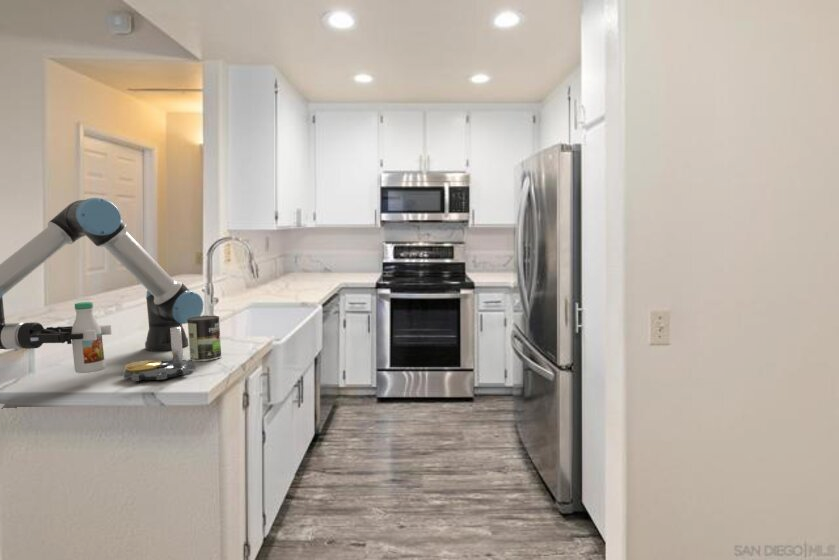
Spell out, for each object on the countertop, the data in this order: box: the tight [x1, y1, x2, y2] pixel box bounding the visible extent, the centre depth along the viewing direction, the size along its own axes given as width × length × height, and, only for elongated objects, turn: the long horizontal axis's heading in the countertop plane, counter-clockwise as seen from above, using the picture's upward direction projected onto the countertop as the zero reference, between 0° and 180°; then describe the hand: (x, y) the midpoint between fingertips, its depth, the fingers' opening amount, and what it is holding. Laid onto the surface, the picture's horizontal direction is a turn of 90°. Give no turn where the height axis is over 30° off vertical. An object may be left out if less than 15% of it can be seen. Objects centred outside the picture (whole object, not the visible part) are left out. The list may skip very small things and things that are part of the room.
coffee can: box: [187, 315, 223, 362], centre depth 202 cm, size 10×10×14 cm
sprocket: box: [123, 327, 196, 382], centre depth 180 cm, size 20×20×14 cm
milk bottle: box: [71, 301, 106, 374], centre depth 172 cm, size 8×8×20 cm
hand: (103, 332), depth 172 cm, fingers closed on milk bottle, 8 cm apart
